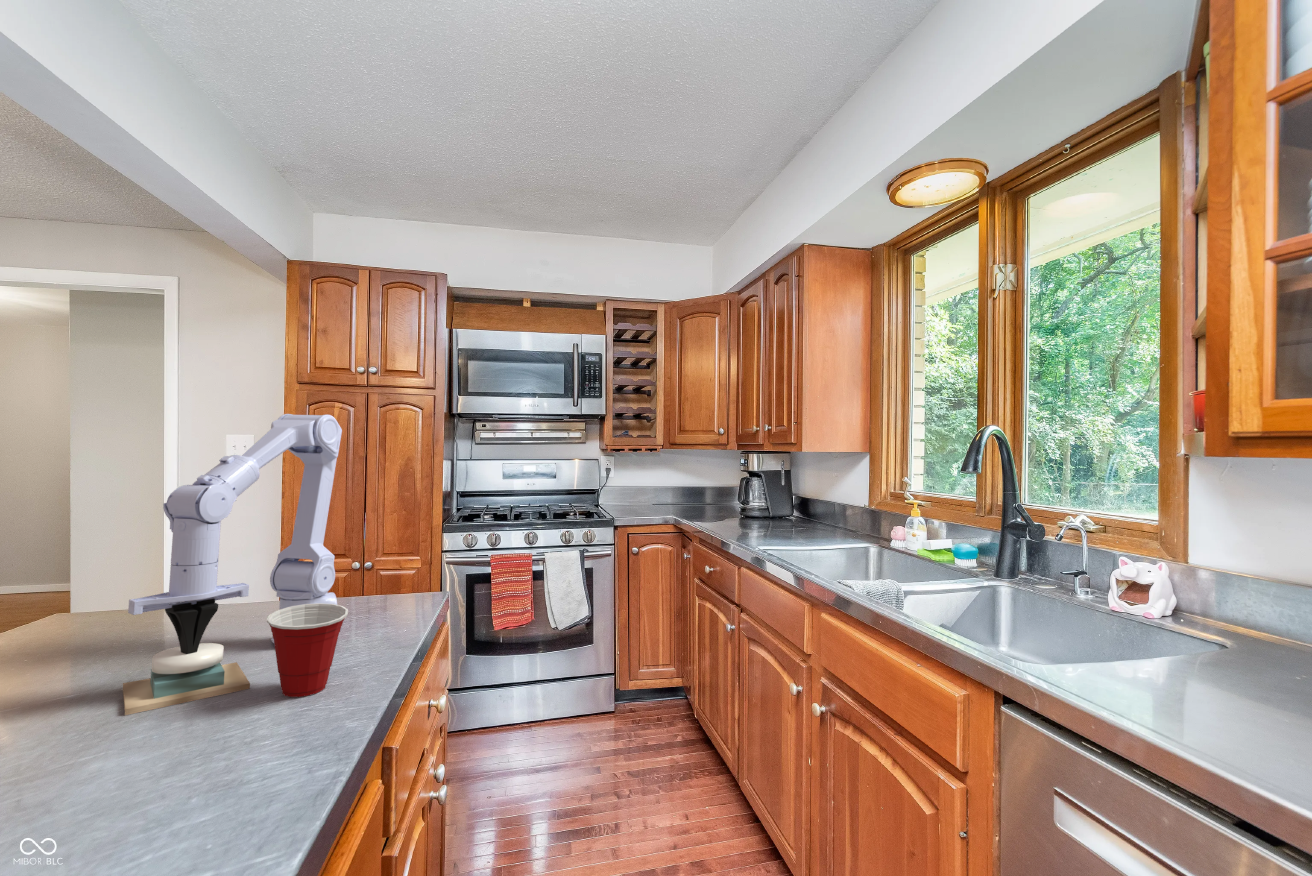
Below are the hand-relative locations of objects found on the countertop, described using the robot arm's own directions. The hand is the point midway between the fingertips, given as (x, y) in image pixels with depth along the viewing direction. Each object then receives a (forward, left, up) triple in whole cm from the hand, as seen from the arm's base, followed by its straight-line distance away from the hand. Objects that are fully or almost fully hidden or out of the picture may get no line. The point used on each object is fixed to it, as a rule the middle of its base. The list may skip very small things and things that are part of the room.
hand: (188, 652), depth 86 cm
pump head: (0, 0, -4) cm, 4 cm away
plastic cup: (-13, +12, -6) cm, 19 cm away
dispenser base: (0, 0, -6) cm, 6 cm away
